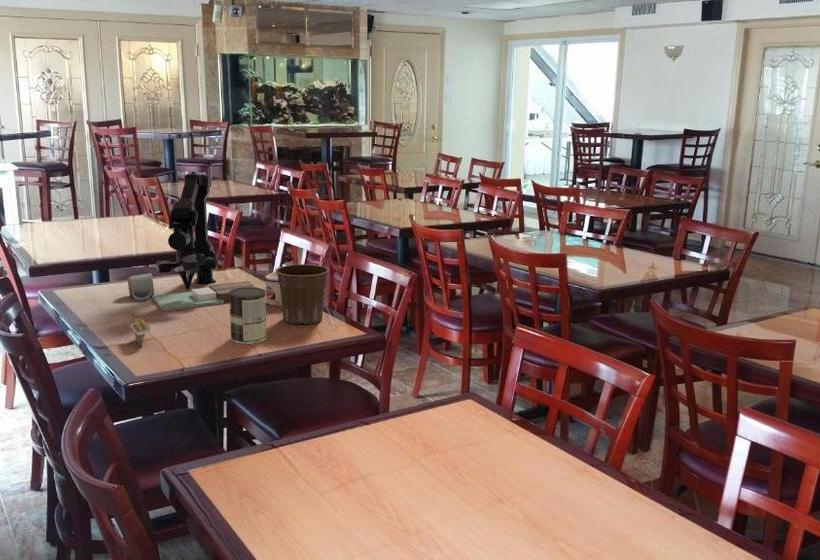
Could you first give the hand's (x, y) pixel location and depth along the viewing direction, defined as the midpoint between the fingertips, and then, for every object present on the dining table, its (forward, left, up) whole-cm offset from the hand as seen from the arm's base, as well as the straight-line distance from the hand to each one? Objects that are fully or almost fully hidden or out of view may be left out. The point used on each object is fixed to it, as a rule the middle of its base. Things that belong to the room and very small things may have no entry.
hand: (187, 289), depth 261 cm
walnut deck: (0, +16, -4) cm, 16 cm away
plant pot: (+36, +27, -4) cm, 45 cm away
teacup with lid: (+16, +27, -4) cm, 32 cm away
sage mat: (0, 0, -4) cm, 4 cm away
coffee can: (+47, +6, -4) cm, 48 cm away
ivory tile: (0, +5, -3) cm, 6 cm away
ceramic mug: (-12, -13, -4) cm, 18 cm away
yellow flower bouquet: (+38, -22, -5) cm, 44 cm away
